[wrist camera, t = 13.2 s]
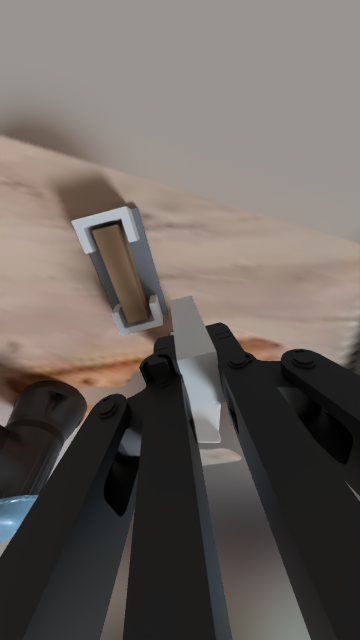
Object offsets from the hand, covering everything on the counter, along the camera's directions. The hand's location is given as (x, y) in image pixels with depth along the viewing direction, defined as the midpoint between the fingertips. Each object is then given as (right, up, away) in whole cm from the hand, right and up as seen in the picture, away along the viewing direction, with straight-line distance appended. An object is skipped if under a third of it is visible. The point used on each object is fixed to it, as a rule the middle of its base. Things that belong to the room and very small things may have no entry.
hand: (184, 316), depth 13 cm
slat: (-10, +8, +21) cm, 25 cm away
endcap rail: (-10, +8, +22) cm, 26 cm away
